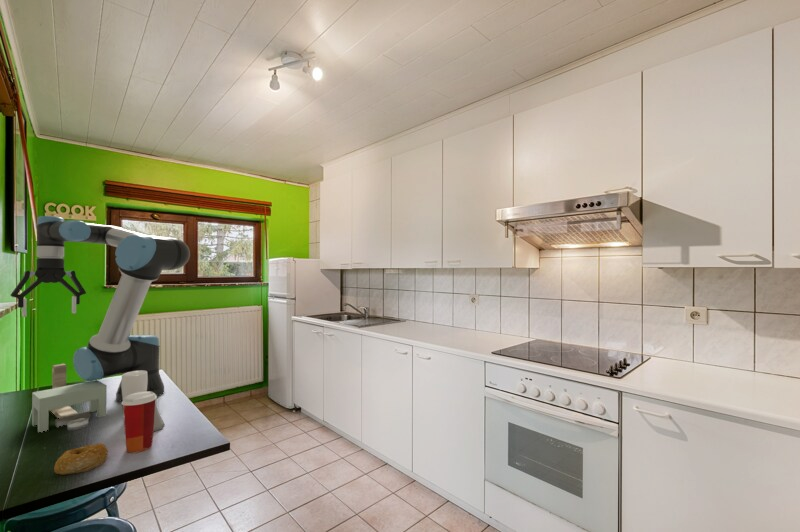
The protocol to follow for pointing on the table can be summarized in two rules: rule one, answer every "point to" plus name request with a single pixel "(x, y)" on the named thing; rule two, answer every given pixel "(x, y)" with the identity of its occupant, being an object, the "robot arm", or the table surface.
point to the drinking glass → (134, 383)
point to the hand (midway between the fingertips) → (50, 314)
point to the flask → (157, 419)
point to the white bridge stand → (67, 400)
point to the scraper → (66, 412)
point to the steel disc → (77, 424)
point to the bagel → (81, 459)
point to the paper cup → (139, 420)
